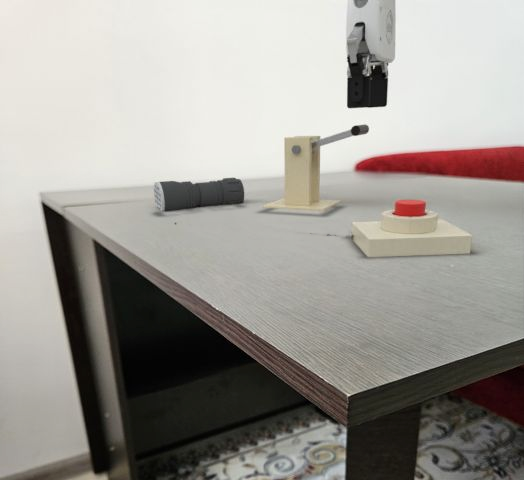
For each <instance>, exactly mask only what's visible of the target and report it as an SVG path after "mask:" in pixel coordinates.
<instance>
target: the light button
mask: <svg viewBox="0 0 524 480" xmlns="http://www.w3.org/2000/svg"><path fill="white" fill-rule="evenodd" d="M426 206H427V201H425V200H422V199H398V200H395V202H394V209H395V211H394V215H397V216H405V217H420V216H425V210H426Z"/></svg>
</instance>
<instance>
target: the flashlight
mask: <svg viewBox="0 0 524 480" xmlns="http://www.w3.org/2000/svg"><path fill="white" fill-rule="evenodd" d="M153 184H154V185H153V201H154V204H155V208H156V209H157V210H159V211H160V212H171V211H181V210H187V209H188V210H190V209H196V208H199V207H200V208H201V207H204V208H205V207H213V206H214V207H216V206H226V205H229V206H230V205H240V204H243V203H244V201H245V187H244V183H243V181H242V180H241V179H240V178H236V177H223V178H222V179H219V180H209V181H206V182H196V183H193V182H192V181H190V180H188V181H175V180H167V181H155V182H154V183H153Z"/></svg>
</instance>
